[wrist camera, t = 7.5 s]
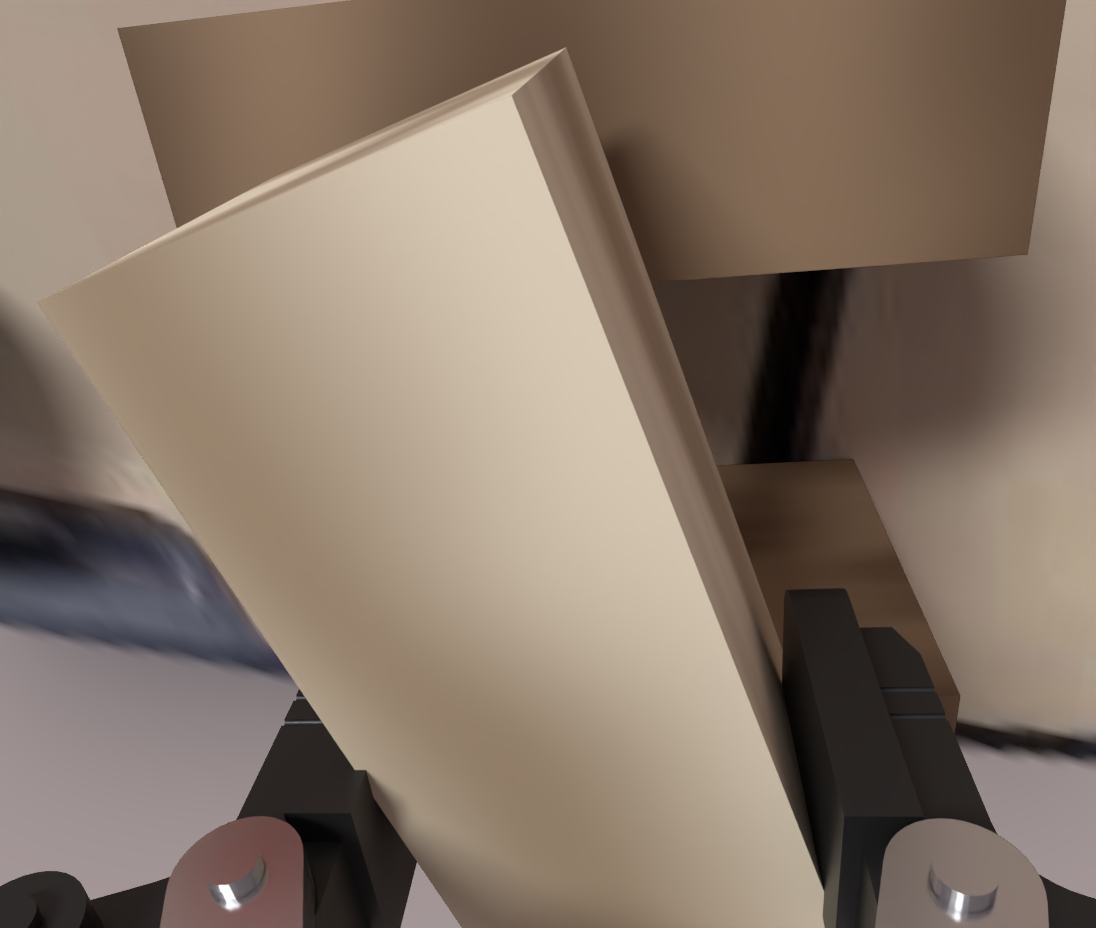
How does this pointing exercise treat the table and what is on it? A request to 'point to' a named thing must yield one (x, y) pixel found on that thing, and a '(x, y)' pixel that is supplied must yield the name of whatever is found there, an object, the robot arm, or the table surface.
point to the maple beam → (475, 512)
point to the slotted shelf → (677, 164)
